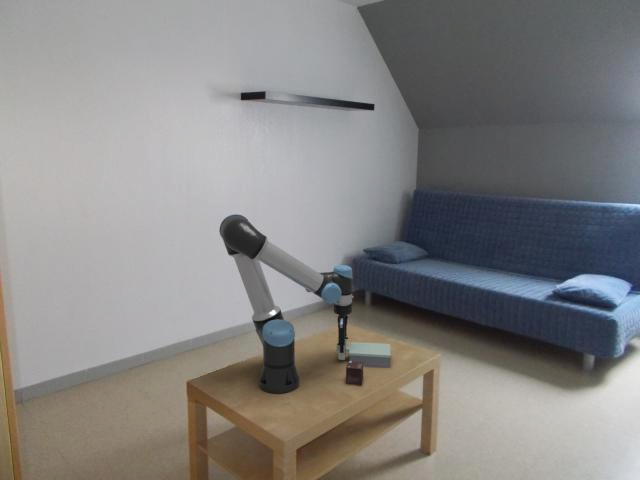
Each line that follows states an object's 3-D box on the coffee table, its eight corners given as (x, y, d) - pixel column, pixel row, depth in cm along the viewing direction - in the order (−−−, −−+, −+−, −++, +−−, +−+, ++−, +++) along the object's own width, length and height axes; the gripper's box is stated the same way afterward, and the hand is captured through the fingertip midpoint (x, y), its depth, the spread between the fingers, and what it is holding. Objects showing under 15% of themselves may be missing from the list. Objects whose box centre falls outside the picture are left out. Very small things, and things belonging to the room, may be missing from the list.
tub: (349, 366, 201) (349, 355, 200) (351, 355, 211) (351, 344, 211) (389, 368, 199) (389, 357, 198) (389, 357, 209) (389, 346, 208)
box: (361, 387, 184) (361, 368, 182) (345, 385, 185) (345, 367, 184) (363, 379, 190) (363, 361, 188) (347, 378, 191) (348, 360, 189)
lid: (335, 354, 200) (335, 346, 200) (338, 343, 212) (338, 335, 211) (390, 357, 197) (390, 349, 197) (390, 346, 209) (390, 338, 208)
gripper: (350, 310, 193) (349, 366, 197) (353, 297, 210) (352, 349, 214) (331, 309, 194) (331, 365, 198) (335, 296, 211) (335, 348, 215)
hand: (342, 356), depth 206 cm, fingers open, 4 cm apart
